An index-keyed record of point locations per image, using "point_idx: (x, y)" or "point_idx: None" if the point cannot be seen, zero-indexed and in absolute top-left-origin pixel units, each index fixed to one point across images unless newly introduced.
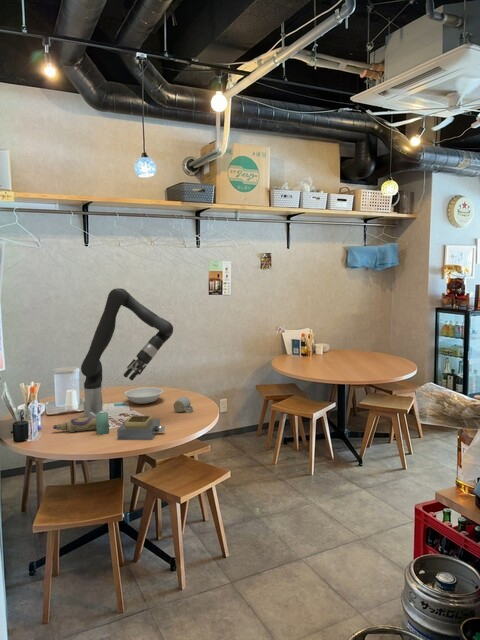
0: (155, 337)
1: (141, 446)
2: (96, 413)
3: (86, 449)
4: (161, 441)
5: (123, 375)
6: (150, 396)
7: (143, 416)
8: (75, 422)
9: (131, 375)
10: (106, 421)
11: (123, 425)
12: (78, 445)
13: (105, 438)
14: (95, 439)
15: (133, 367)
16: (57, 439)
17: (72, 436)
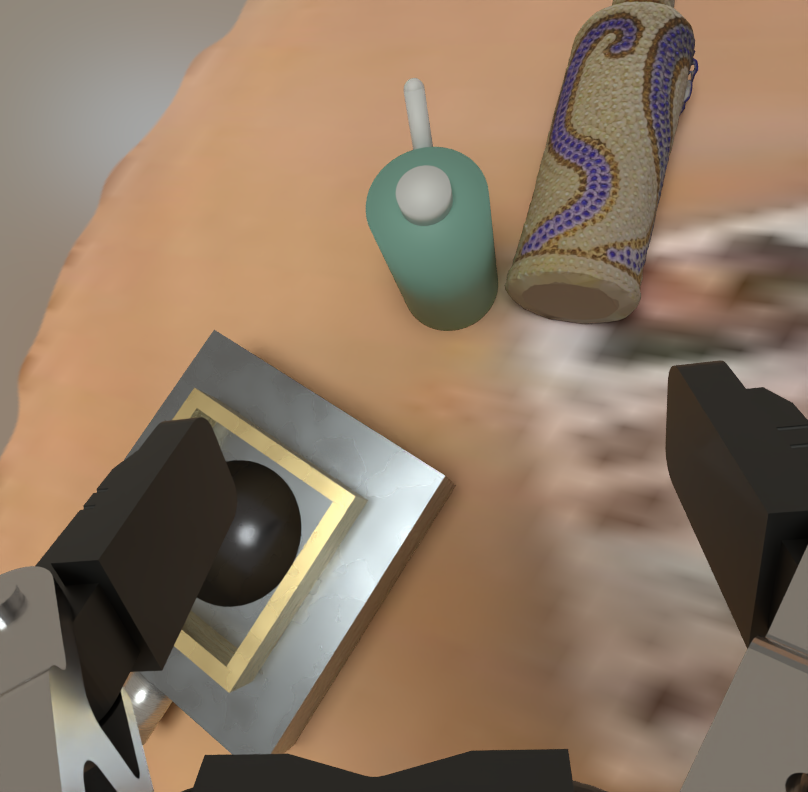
0: None
1: (33, 466)
2: (463, 155)
3: (199, 157)
4: None
5: (703, 367)
6: None
7: (269, 602)
8: (583, 53)
9: (117, 477)
10: (388, 265)
11: (275, 396)
12: (294, 119)
13: (320, 284)
14: (341, 221)
15: (455, 764)
16: (485, 6)
17: (494, 90)
